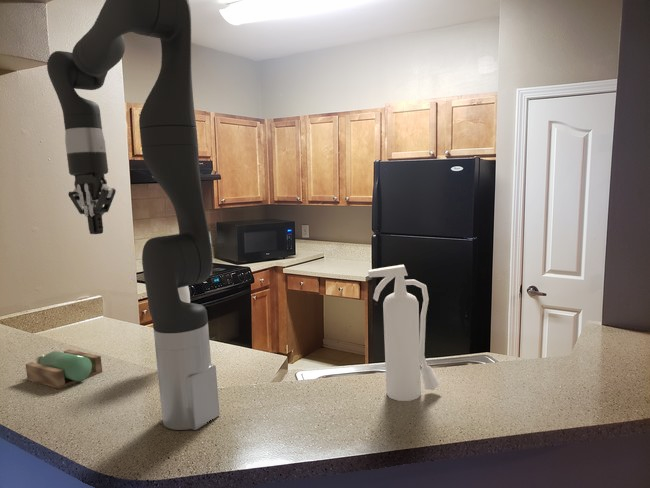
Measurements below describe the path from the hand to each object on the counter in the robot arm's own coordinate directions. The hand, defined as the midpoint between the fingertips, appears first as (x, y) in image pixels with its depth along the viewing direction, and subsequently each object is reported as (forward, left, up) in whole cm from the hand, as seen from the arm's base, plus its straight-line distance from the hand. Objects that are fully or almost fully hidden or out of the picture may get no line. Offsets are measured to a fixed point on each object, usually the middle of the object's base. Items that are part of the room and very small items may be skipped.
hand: (96, 233), depth 105 cm
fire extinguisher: (-62, -18, -33) cm, 73 cm away
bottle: (+4, +4, -29) cm, 30 cm away
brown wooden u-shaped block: (+12, +4, -32) cm, 35 cm away
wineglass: (-6, -13, -33) cm, 36 cm away
